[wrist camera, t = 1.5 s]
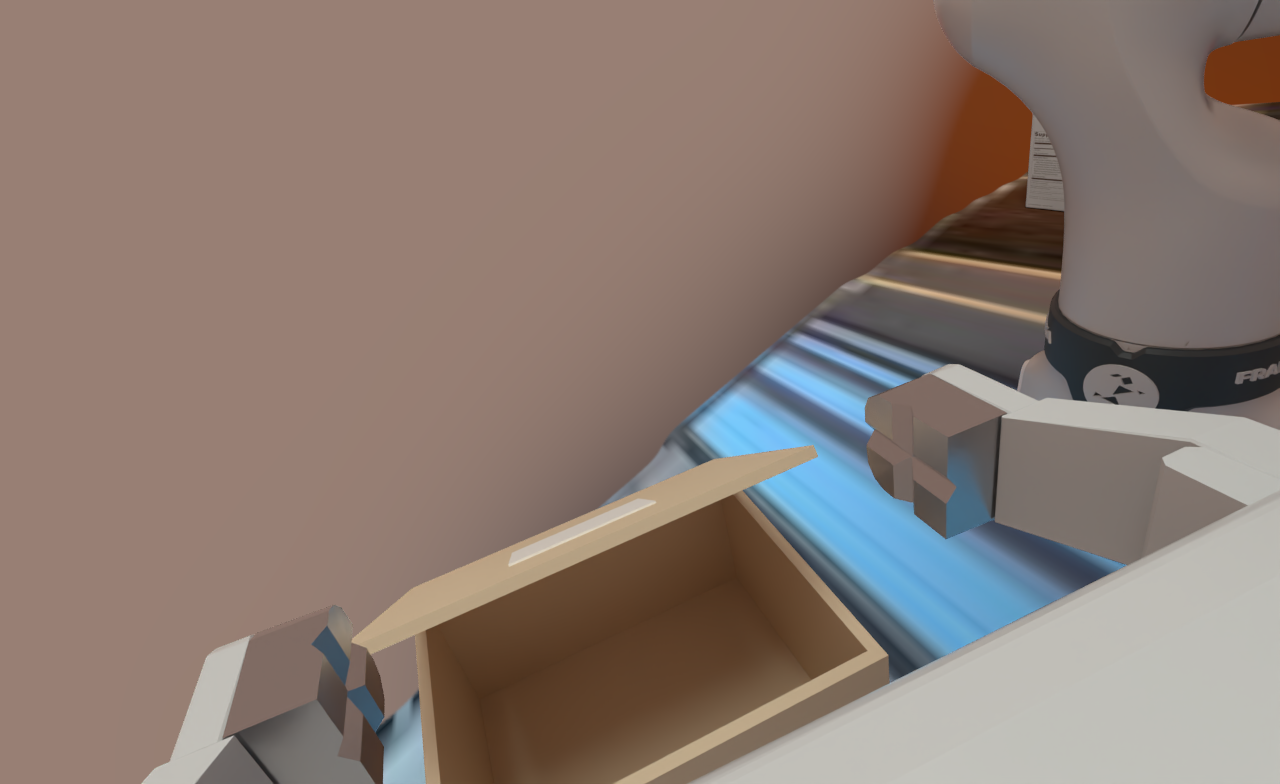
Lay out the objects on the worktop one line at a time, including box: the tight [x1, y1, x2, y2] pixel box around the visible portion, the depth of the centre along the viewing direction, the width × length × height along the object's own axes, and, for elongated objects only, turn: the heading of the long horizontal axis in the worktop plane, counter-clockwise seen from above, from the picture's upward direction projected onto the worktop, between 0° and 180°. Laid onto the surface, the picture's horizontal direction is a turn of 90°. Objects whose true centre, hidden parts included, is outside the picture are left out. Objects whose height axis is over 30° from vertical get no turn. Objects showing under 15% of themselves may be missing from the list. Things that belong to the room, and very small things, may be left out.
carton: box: [415, 490, 889, 784], centre depth 35 cm, size 16×20×10 cm
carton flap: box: [352, 445, 818, 655], centre depth 32 cm, size 15×20×1 cm
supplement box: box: [1026, 114, 1064, 211], centre depth 85 cm, size 9×9×15 cm
